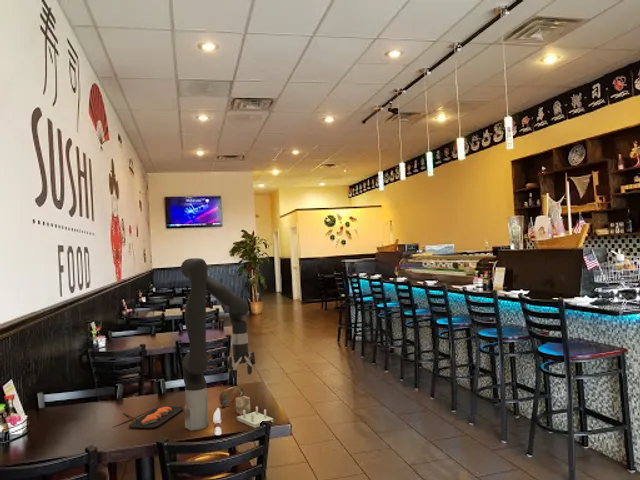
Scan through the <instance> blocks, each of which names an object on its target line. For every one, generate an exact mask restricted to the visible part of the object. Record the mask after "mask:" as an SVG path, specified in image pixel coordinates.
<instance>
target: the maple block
mask: <svg viewBox="0 0 640 480" xmlns="http://www.w3.org/2000/svg"><path fill="white" fill-rule="evenodd" d="M243 410H245V414H248V413H249V412H250V413H251V397H249V396H246V395H244V396H241V397H238V398H236V404H235V413H236V412H237V414H238V413H239V415H240V416H241V415H242V414H243Z"/></svg>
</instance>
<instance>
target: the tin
mask: <svg viewBox="0 0 640 480" xmlns="http://www.w3.org/2000/svg"><path fill="white" fill-rule="evenodd" d="M244 393H245V392H244V389H243V387H242V386H240V385H239V386H238V385H236V386H232V387H229V388H225V389H223V390H222V391H221V392H220V394H219V396H218V397H219V400H218V401H219V404H220V405H221V406H222V407H225V408H228V407H227V406H229V407H231V406H233V405H232V404H234V405H236V404H235V403H236V398H238V397H241V396H245V394H244ZM230 405H231V406H230Z"/></svg>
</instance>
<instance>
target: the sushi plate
mask: <svg viewBox="0 0 640 480" xmlns="http://www.w3.org/2000/svg"><path fill="white" fill-rule="evenodd" d="M183 409H184V407H183V406H168V405H167V406H164V405H163V406H158V407H156V408H153V409H150V410H148V411H146V412H143V413H142V414H139V415H137V416H135V417H133V416H131V415H129V414H126V413H124V412H123V413H122V414H123V415H124V416H126V417H128V418H130V419H129V420H127V421H123V422H122V423H119V424H117V425H116V424H115V426H112V427H111V428H112V429H113V428H116V427H119V426H121V425H124V424H126V423H128V422H130V421H132V422H131V423H130V424H128V428H137V429H138V428H139V429H154V428H157V427H159V426H161V425H163V424H164V423H165V422H167V421H168V420H170V419H171V418H173V417H174V416H177V414H179V413H180V412H181V411H183ZM133 420H134V421H133Z"/></svg>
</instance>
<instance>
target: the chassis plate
mask: <svg viewBox="0 0 640 480" xmlns="http://www.w3.org/2000/svg"><path fill="white" fill-rule="evenodd" d="M236 421H238V422H240V423H243V424H245V425H247V426H250V427H252V428H255V429H256V428H258V427H259V428H260V427H261V426H260V423H261V422H262V421H271V422H272V423H274V418H273V417H270V416H268V415H267V409H263V414H262V413H260V412H259V406H255V411H253V412H252V411H251V412H250V413H246V414H245V410H243V415H241V414H240V415H239V416H236Z"/></svg>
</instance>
